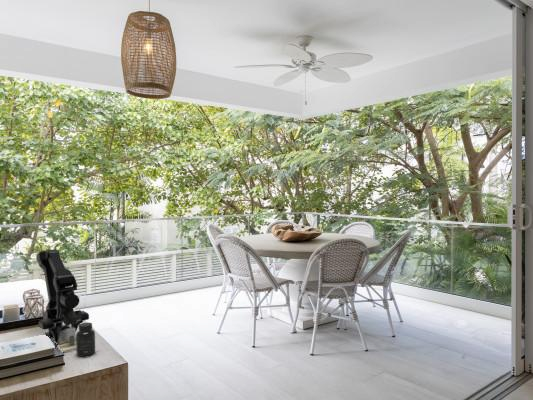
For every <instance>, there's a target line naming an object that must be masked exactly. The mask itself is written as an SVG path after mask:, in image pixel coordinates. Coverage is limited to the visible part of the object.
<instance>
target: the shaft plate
mask: <svg viewBox="0 0 533 400" xmlns="http://www.w3.org/2000/svg"><path fill="white" fill-rule="evenodd" d="M59 347H60V349H61V350H62V351H63V352H65V353H68V351H69V352H72V351H71V350H73V351H75V349H76V350H77V345H76V341H74V336H73V335H72V336H70V343H66V344H62V345H59Z"/></svg>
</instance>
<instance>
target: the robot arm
mask: <svg viewBox="0 0 533 400" xmlns="http://www.w3.org/2000/svg"><path fill="white" fill-rule="evenodd" d="M36 262H38V266H39V268H40V269H42V271H43V276H44V279H45V280H44V281H45V285H46V292H47V293H46V294H47V297H48V298H47V299H48V302H47V304H46V306H45V311H44V314H43V318H42V319H40V320H39V321H38V327H39V328H40V329H42V330H47V332H45V335H46V334H47V335H48V336H47V335H46V336H47V337H49V336H50V337H51V338H53V341H54V340H55V342H57V328H58V327H59V326H63V323H64V325H72V326H73V327H75V334H77V330H78V329H79V325H80V324H82V323H84V321H89V319H90V314H89V313H88V312H86V311H85V310H82V309H78V310H75V311H74V308H76V307H77V306H78V305H79V304H80V297H79V296H78V295H77V294H76V293H75V291H77V290H78V283H77V280H76V279H77V278H76V277H75V275H74V274H73V273H72V271H71V270H70V269H68V268H66V267H65V264H64V262H63V260H62V258H61V256H60V250H59V249H55V248H54V249H47V250H40V251H39V252H38V253H36ZM50 337H49V338H50Z"/></svg>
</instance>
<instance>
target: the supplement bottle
mask: <svg viewBox="0 0 533 400" xmlns="http://www.w3.org/2000/svg"><path fill="white" fill-rule="evenodd" d="M75 334H76V345H77V349H76V355H77V357H78V358H88V357H87V356H89V357H92V356H93V355H95V353H96V332H95V330H94V329H93V323H92V322H83V323H81V324H80V325H79V326H78V331H76V333H75Z"/></svg>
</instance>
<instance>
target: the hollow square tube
mask: <svg viewBox="0 0 533 400" xmlns="http://www.w3.org/2000/svg"><path fill="white" fill-rule="evenodd" d="M76 334H77V333H75V327H73V326H72V325H71V324H70V325H65V324H64V325H62V326H59V327H58V328H57V342H56V343H57V344H58V345H62V344H66V343H70V336H72V335H73V336H74V341H76ZM57 344H56V345H57ZM58 345H57V346H58Z"/></svg>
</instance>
